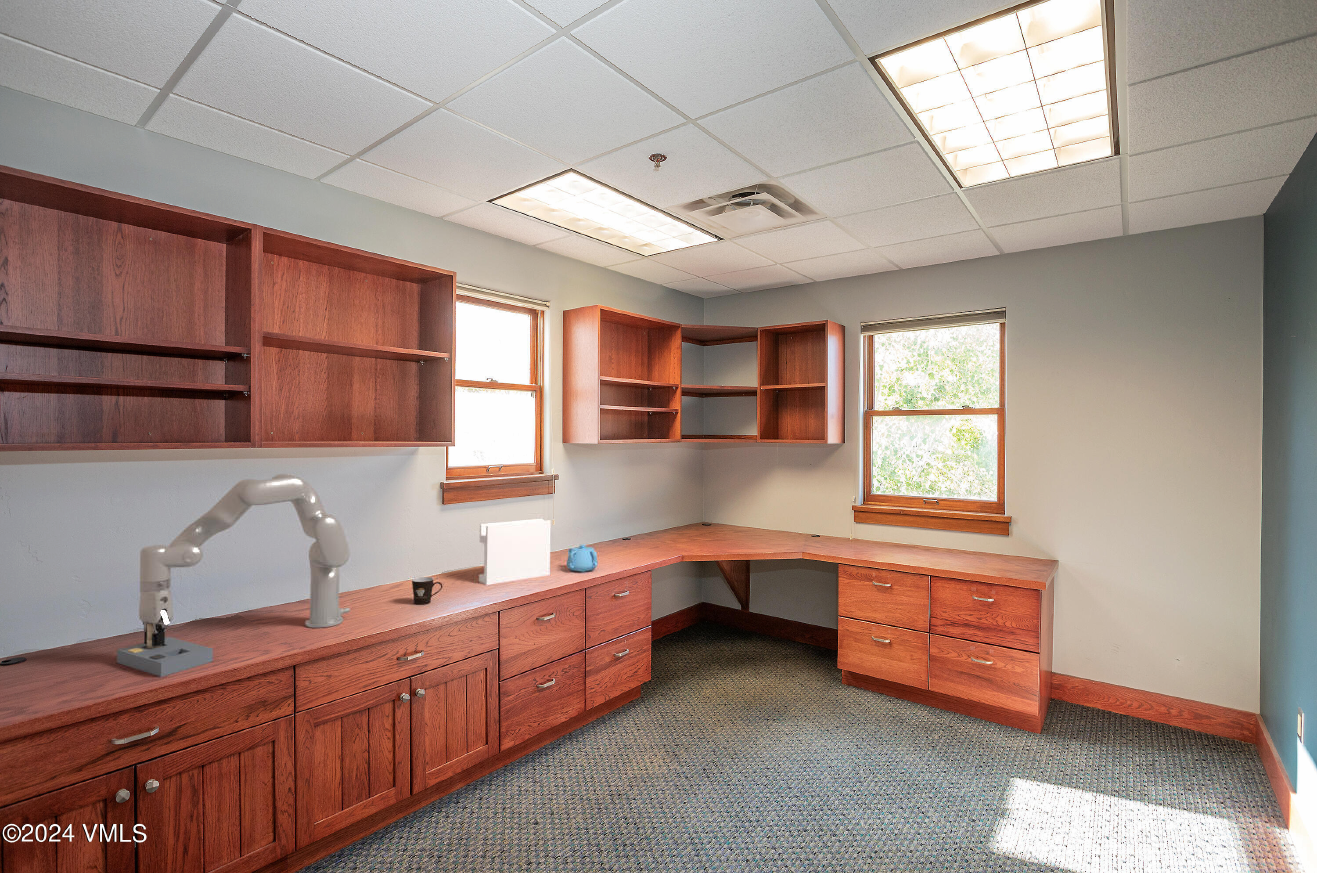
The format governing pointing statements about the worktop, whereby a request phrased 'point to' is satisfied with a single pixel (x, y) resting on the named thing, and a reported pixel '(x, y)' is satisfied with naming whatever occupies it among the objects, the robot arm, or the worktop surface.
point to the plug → (149, 636)
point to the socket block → (165, 657)
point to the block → (515, 550)
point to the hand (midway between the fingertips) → (154, 643)
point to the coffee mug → (423, 590)
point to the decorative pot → (582, 559)
